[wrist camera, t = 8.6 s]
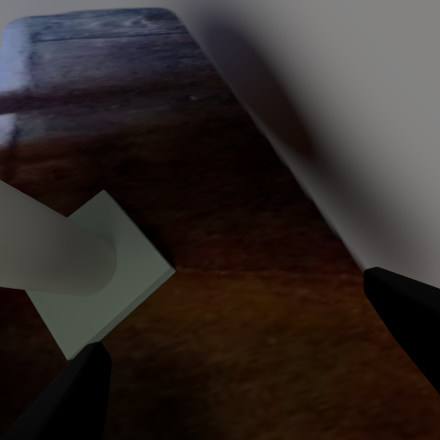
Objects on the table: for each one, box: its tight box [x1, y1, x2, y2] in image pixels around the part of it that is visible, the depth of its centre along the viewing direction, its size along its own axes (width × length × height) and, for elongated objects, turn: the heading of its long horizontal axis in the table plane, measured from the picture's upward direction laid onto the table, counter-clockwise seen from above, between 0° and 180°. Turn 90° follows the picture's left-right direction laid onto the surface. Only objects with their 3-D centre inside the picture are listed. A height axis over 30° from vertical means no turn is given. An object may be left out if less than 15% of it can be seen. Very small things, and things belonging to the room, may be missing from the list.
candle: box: [0, 180, 117, 297], centre depth 16 cm, size 5×5×13 cm
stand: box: [25, 190, 176, 360], centre depth 23 cm, size 10×10×2 cm
